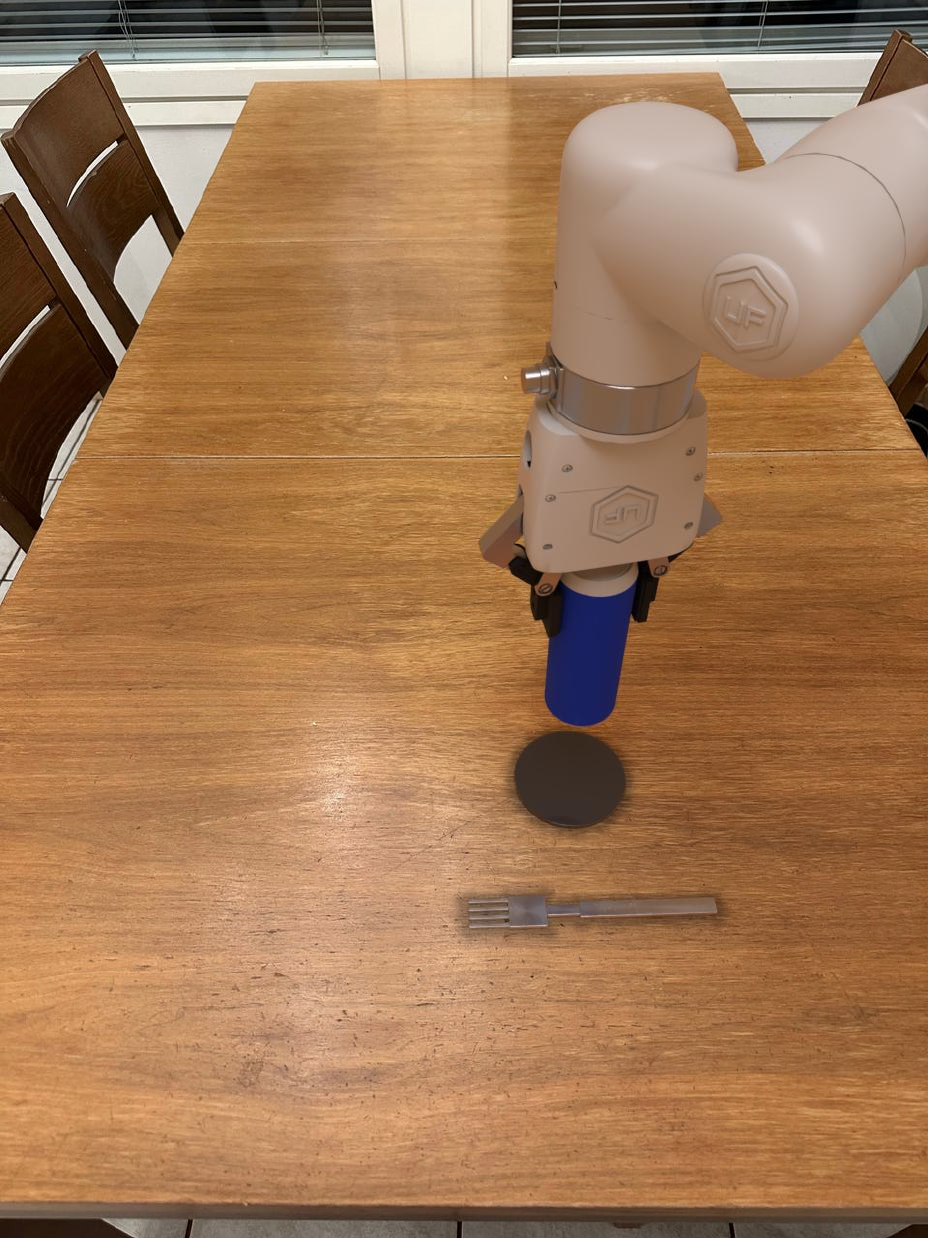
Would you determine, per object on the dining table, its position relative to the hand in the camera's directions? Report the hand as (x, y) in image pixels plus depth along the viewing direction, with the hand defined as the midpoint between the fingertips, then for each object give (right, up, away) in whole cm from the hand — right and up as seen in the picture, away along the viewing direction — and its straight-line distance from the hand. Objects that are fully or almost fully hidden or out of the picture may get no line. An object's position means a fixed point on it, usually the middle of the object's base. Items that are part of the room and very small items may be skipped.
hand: (590, 612), depth 62 cm
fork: (+1, -22, +7) cm, 23 cm away
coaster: (0, -13, +15) cm, 20 cm away
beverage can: (0, -7, +7) cm, 10 cm away
